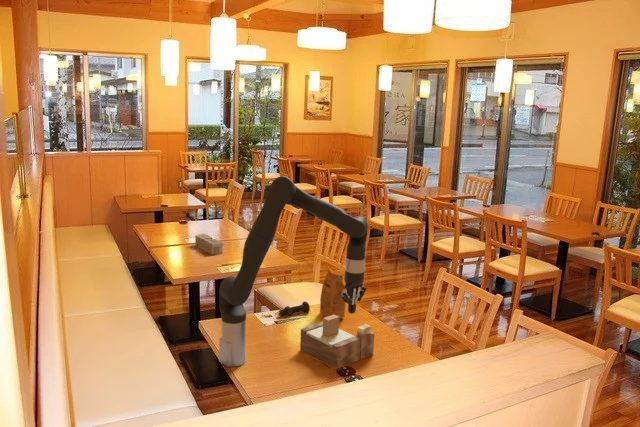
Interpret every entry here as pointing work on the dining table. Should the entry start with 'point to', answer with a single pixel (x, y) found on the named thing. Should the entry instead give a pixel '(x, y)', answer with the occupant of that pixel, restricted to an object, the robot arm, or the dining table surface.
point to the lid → (330, 331)
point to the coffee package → (332, 296)
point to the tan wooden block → (363, 330)
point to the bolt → (294, 309)
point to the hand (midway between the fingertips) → (351, 312)
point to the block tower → (208, 244)
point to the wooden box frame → (337, 348)
